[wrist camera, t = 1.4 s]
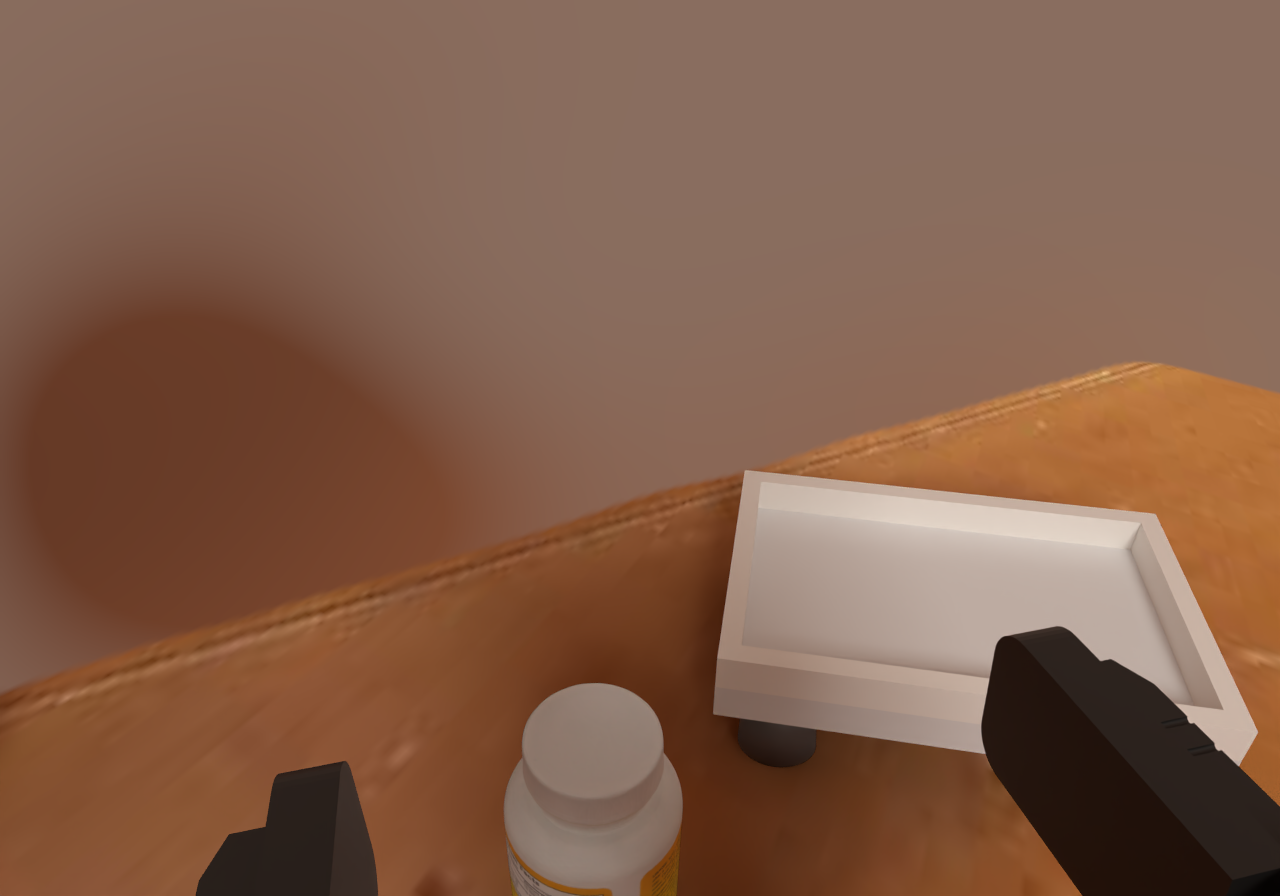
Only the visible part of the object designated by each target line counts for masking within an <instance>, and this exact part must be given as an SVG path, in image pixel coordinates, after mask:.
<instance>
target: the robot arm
mask: <svg viewBox="0 0 1280 896" xmlns="http://www.w3.org/2000/svg"><path fill="white" fill-rule="evenodd" d="M981 735H982V741H983V746H984V750H985V753H986V756H987V758H988V761H989V763H990V765H991V767H992V769H993V771H994V772H995V774H996V775H997V777H998V778H999V780H1000V781H1001V782H1002V784H1003V785H1004V787H1005V788H1006V789H1007V791H1008V792H1009V794H1010V795H1011V796H1012V798H1013V799H1014V801H1015V802H1016V803H1017V805H1018V806H1019V808H1020V809H1021V810H1022V812H1023V813H1024V815H1025V816H1026V817H1027V819H1028V820H1029V822H1030V823H1031V824H1032V826H1033V827H1034V829H1035V830H1036V831H1037V833H1038V834H1039V836H1040V837H1041V838H1042V840H1043V841H1044V843H1045V844H1046V845H1047V847H1048V848H1049V850H1050V851H1051V852H1052V854H1053V855H1054V857H1055V858H1056V859H1057V861H1058V862H1059V864H1060V865H1061V866H1062V868H1063V869H1064V871H1065V872H1066V873H1067V875H1068V876H1069V878H1070V879H1071V880H1072V882H1073V883H1074V885H1075V886H1076V887H1077V889H1078V890H1079V892H1080V893H1081V894H1082V896H1280V806H1278V805H1277V804H1276V803H1275V802H1274V801H1273V800H1272V799H1271V798H1270V797H1269V796H1268V795H1267V794H1266V793H1265V792H1264V791H1263V790H1262V789H1261V788H1260V787H1259V786H1258V785H1257V784H1256V783H1255V782H1254V781H1253V780H1252V779H1251V778H1250V777H1249V776H1248V775H1247V774H1246V773H1245V772H1244V771H1243V770H1242V769H1241V768H1240V767H1239V766H1238V765H1237V764H1236V763H1235V762H1234V761H1233V760H1232V759H1230V758H1229V757H1228V756H1227V755H1226V754H1225V753H1224V752H1223V751H1222V750H1220V751H1218V750H1217V749H1216V748H1215V743H1214V742H1213V741H1212V740H1211V739H1210V738H1209V737H1208V736H1207V735H1206V734H1205V733H1204V732H1203V731H1202V730H1201V729H1200V728H1199V727H1198V726H1197V725H1196V724H1195V723H1191V724H1190V723H1189V721H1188V719H1187V715H1186V714H1185V713H1184V712H1183V711H1181V710H1180V709H1179V708H1178V707H1177V706H1176V705H1175V704H1174V703H1173V702H1172V701H1171V700H1170V699H1169V698H1168V697H1167V696H1166V695H1165V694H1164V693H1163V692H1162V691H1161V690H1160V689H1159V688H1158V687H1157V686H1156V685H1155V684H1154V683H1152V682H1150V681H1148V680H1147V679H1145V678H1143V677H1142V676H1140V675H1138V674H1136V673H1135V672H1133V671H1131V670H1129V669H1128V668H1126V667H1124V666H1123V665H1121V664H1119V663H1117V662H1116V661H1114V660H1112V659H1108V660H1103V661H1100V660H1099V659H1098V658H1097V657H1096V656H1095V655H1094V654H1093V653H1092V652H1091V651H1090V650H1089V649H1088V648H1087V647H1086V646H1085V645H1084V644H1083V643H1082V642H1081V641H1080V640H1079V639H1078V638H1077V636H1076V635H1074V634H1073V633H1072V632H1071V631H1070V630H1068V629H1066V628H1064V627H1061V626H1055V627H1050V628H1045V629H1039V630H1034V631H1029V632H1024V633H1019V634H1014V635H1008V636H1003V637H1002V638H1000V640H999V641H998V642H997V644H996V647H995V651H994V657H993V662H992V667H991V673H990V678H989V684H988V689H987V694H986V700H985V705H984V711H983V716H982V722H981ZM196 896H378V886H377V874H376V866H375V859H374V854H373V849H372V845H371V841H370V838H369V834H368V831H367V827H366V823H365V820H364V816H363V812H362V809H361V805H360V801H359V798H358V794H357V791H356V787H355V783H354V780H353V776H352V773H351V769H350V767H349V765H348V763H347V762H346V761H343V762H338V763H332V764H327V765H322V766H317V767H312V768H306V769H301V770H296V771H291V772H286V773H280V774H278V775H277V776H276V777H275V779H274V782H273V786H272V791H271V797H270V803H269V809H268V815H267V821H266V827H263V828H258V829H253V830H248V831H243V832H238V833H233V834H229V835H228V837H227V838H226V840H225V841H224V843H223V844H222V846H221V848H220V849H219V851H218V852H217V854H216V855H215V857H214V858H213V860H212V861H211V863H210V865H209V866H208V868H207V869H206V871H205V872H204V874H203V875H202V877H201V878H200V880H199V883H198V887H197V892H196Z"/></svg>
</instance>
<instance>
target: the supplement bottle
mask: <svg viewBox="0 0 1280 896" xmlns="http://www.w3.org/2000/svg"><path fill="white" fill-rule="evenodd" d="M663 749H664V742H663V732H662V728H661V725H660V722H659V720H658V717H657V716H656V714H655V712H654V711H653V710H652V708H651V707H650V706H649V705H648V704H647V703H646V702H645V701H644V700H643V699H641V698H640V697H639V696H637V695H636V694H634V693H633V692H631V691H629V690H627V689H624V688H621V687H618V686H614V685H610V684H603V683H586V684H579V685H574V686H571V687H568V688H565V689H563V690H560V691H558V692H556V693H554V694H552V695H551V696H549V697H548V698H546V699H545V700H544V701H543V702H542V703H541V704H540V705H539V706H538V707H537V708H536V709H535V710H534V711H533V713H532V714H531V715H530V717H529V719H528V721H527V723H526V726H525V728H524V731H523V738H522V759H521V760H520V761H519V763H518V764H517V766H516V767H515V769H514V771H513V773H512V775H511V777H510V779H509V782H508V785H507V789H506V793H505V799H504V824H505V833H506V844H507V853H508V862H509V871H510V878H511V887H512V896H677V882H678V867H679V854H680V841H681V828H682V813H683V799H682V790H681V786H680V782H679V779H678V776H677V774H676V771H675V769H674V767H673V766H672V764H671V762H670V761H669V759H668V758H667V756H666V755H665V754H664V753H663Z"/></svg>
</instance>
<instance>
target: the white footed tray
mask: <svg viewBox="0 0 1280 896" xmlns="http://www.w3.org/2000/svg"><path fill="white" fill-rule="evenodd" d="M1055 626H1061V627H1064V628H1066V629H1068V630H1070V631H1071V632H1072V633H1073V634H1074V635H1076V636H1077V638H1078V639H1079V640H1080V641H1081V642H1082V643H1083V644H1084V645H1085V646H1086V647H1087V648H1088V649H1089V650H1090V651H1091V652H1092V653H1093V654H1094V655H1095V656H1096V657H1097V658H1098V659H1099V660H1100V661H1103V660H1108V659H1112V660H1114V661H1116V662H1117V663H1119V664H1121V665H1123V666H1124V667H1126V668H1128V669H1129V670H1131V671H1133V672H1135V673H1136V674H1138V675H1140V676H1142V677H1143V678H1145V679H1147V680H1148V681H1150V682H1152V683H1154V684H1155V685H1156V686H1157V687H1158V688H1159V689H1160V690H1161V691H1162V692H1163V693H1164V694H1165V695H1166V696H1167V697H1168V698H1169V699H1170V700H1171V701H1172V702H1173V703H1174V704H1175V705H1176V706H1177V707H1178V708H1179V709H1180V710H1181V711H1183V712H1184V713H1185V714H1186V715H1187V719H1188V721H1189V723H1190V724H1191V723H1195V724H1196V725H1197V726H1198V727H1199V728H1200V729H1201V730H1202V731H1203V732H1204V733H1205V734H1206V735H1207V736H1208V737H1209V738H1210V739H1211V740H1212V741H1213V742H1214V743H1215V748H1216V749H1217V750H1218V751H1220V750H1222V751H1223V752H1224V753H1225V754H1226V755H1227V756H1228V757H1229V758H1230V759H1232V760H1233V761H1234V762H1235V763H1236V764H1237V765H1238V766H1239V765H1240V763H1241V761H1242V759H1243V758H1244V756H1245V754H1246V752H1247V751H1248V749H1249V747H1250V746H1251V744H1252V742H1253V740H1254V739H1255V737H1256V735H1257V733H1258V731H1257V729H1256V727H1255V725H1254V723H1253V720H1252V718H1251V716H1250V714H1249V712H1248V710H1247V708H1246V705H1245V703H1244V701H1243V699H1242V697H1241V695H1240V693H1239V691H1238V688H1237V686H1236V684H1235V682H1234V680H1233V678H1232V676H1231V674H1230V671H1229V669H1228V667H1227V665H1226V663H1225V661H1224V659H1223V657H1222V654H1221V652H1220V650H1219V648H1218V646H1217V644H1216V642H1215V640H1214V637H1213V635H1212V633H1211V631H1210V629H1209V627H1208V625H1207V623H1206V620H1205V618H1204V616H1203V614H1202V612H1201V610H1200V608H1199V606H1198V603H1197V601H1196V599H1195V597H1194V595H1193V593H1192V591H1191V589H1190V586H1189V584H1188V582H1187V580H1186V578H1185V576H1184V574H1183V571H1182V569H1181V567H1180V565H1179V563H1178V561H1177V559H1176V557H1175V554H1174V552H1173V550H1172V548H1171V546H1170V544H1169V542H1168V540H1167V537H1166V535H1165V533H1164V531H1163V529H1162V527H1161V525H1160V523H1159V520H1158V518H1157V516H1156V514H1151V513H1142V512H1132V511H1123V510H1114V509H1104V508H1095V507H1086V506H1076V505H1067V504H1058V503H1048V502H1039V501H1030V500H1020V499H1011V498H1001V497H992V496H983V495H973V494H964V493H955V492H945V491H936V490H927V489H917V488H908V487H899V486H889V485H880V484H871V483H861V482H852V481H843V480H833V479H824V478H815V477H805V476H796V475H786V474H777V473H768V472H758V471H749V470H745V473H744V480H743V487H742V494H741V500H740V507H739V514H738V521H737V527H736V534H735V541H734V548H733V555H732V561H731V568H730V575H729V582H728V589H727V595H726V602H725V609H724V616H723V622H722V629H721V636H720V643H719V650H718V656H717V668H716V681H715V694H714V707H713V714H715V715H722V716H729V717H735V718H740V720H739V729H738V743H739V745H740V747H741V749H742V750H743V751H744V753H745V754H746V755H748V756H749V757H750V758H752V759H753V760H755V761H757V762H759V763H762V764H765V765H768V766H774V767H790V766H795V765H798V764H801V763H803V762H805V761H807V760H808V759H809V758H810V757H811V756H812V755H813V753H814V752H815V749H816V729H818V730H825V731H831V732H838V733H845V734H852V735H859V736H866V737H873V738H879V739H886V740H893V741H900V742H907V743H914V744H920V745H927V746H934V747H941V748H948V749H955V750H962V751H968V752H975V753H982V754H986V753H985V750H984V746H983V741H982V735H981V722H982V716H983V711H984V705H985V700H986V694H987V689H988V684H989V678H990V673H991V667H992V662H993V657H994V651H995V647H996V644H997V642H998V641H999V640H1000V638H1002V637H1003V636H1008V635H1014V634H1019V633H1024V632H1029V631H1034V630H1039V629H1045V628H1050V627H1055Z"/></svg>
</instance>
